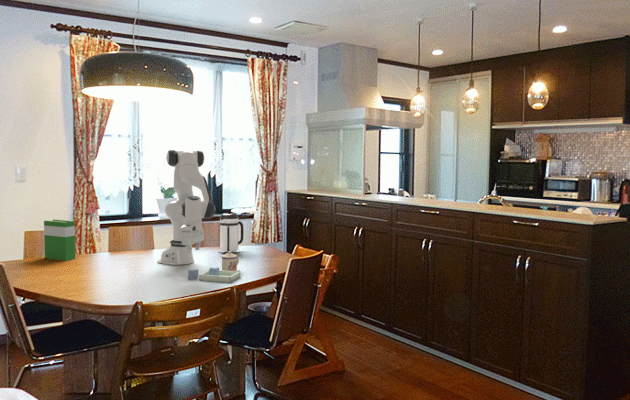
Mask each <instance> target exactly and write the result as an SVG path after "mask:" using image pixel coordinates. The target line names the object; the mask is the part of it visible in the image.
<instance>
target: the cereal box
mask: <svg viewBox="0 0 630 400" xmlns="http://www.w3.org/2000/svg"><path fill="white" fill-rule="evenodd" d="M75 223H76V222H75V221H74V220H66V219H65V220H64V219H52V220H43V235H44V237H43V238H44V240H43V241H44V259H45V258H47V259H46V260H53V259H54V260H55V261H61V260H64V262H67V260H69V261H73V260H76V231H75V230H76V229H75V227H76V226H75V225H76V224H75ZM72 259H73V260H72Z"/></svg>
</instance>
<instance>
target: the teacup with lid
mask: <svg viewBox="0 0 630 400" xmlns="http://www.w3.org/2000/svg"><path fill="white" fill-rule="evenodd" d="M239 263H240V262H239V258H238V255H237V254H234V253H233V252H231V251H228V253H227V252H226V253H225V254H222V255H221V270H224V271H237V272H238V269H237V268H238V264H239Z"/></svg>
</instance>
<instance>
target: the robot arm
mask: <svg viewBox="0 0 630 400" xmlns="http://www.w3.org/2000/svg"><path fill="white" fill-rule="evenodd" d="M165 159H166V162H167V164H168V165H169V166H170V167H174V171H173V190H174V192H175V194H177V199H178V200H173V201H171V202H168V203H167V204H166V205H165V207H164V212H165V213H164V214H165V215H166V216H167V217H168V218H169V220H170V222H171V226H172V236H173V237H172V238H173V239H172V240H170V241H169V244H170V246H168V247H167V248H166V249H165V250H163V251H162V252H161V255H160V259H158V260H157V263H158V264H163V265H164V264H165V265H171V266H173V265H174V266H179V265H188V264H189V265H190V264H193V263H195V259H194V255H193V250H192V249H193V245H194V244H195V251H199V250H200V247H201V243H202V242H203V241H205V230H204V229H205V228H203V222H202V221H203V219H208V220H209V219H211V218H213V216H215V214H216V206H215V204H214V200H213V199H212V194H211V191H210V188H209V184H208V182H207V179H206V177H205V176H204V175H203V174H201V172H200V170H199V168H200V167H201V166H203V164H204V162H205V154H204V151H202V150H201V149H193V148H177V149H176V148H172V149H169V150H168V151H167V153H166V158H165ZM193 187H195V188H197V189H199V190H200V192H201V195H202V198H203V200H201V197H200V196H198V195H194V192H193Z"/></svg>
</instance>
